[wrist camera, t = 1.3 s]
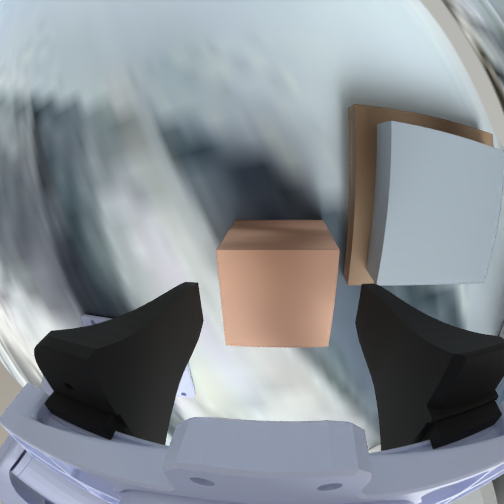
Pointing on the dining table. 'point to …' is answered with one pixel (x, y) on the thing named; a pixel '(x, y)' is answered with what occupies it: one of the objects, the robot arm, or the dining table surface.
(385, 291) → the robot arm
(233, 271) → the terracotta cube
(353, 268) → the bottom block
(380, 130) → the top block
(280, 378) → the dining table surface
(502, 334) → the coffee box
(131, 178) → the dining table surface
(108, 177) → the dining table surface
